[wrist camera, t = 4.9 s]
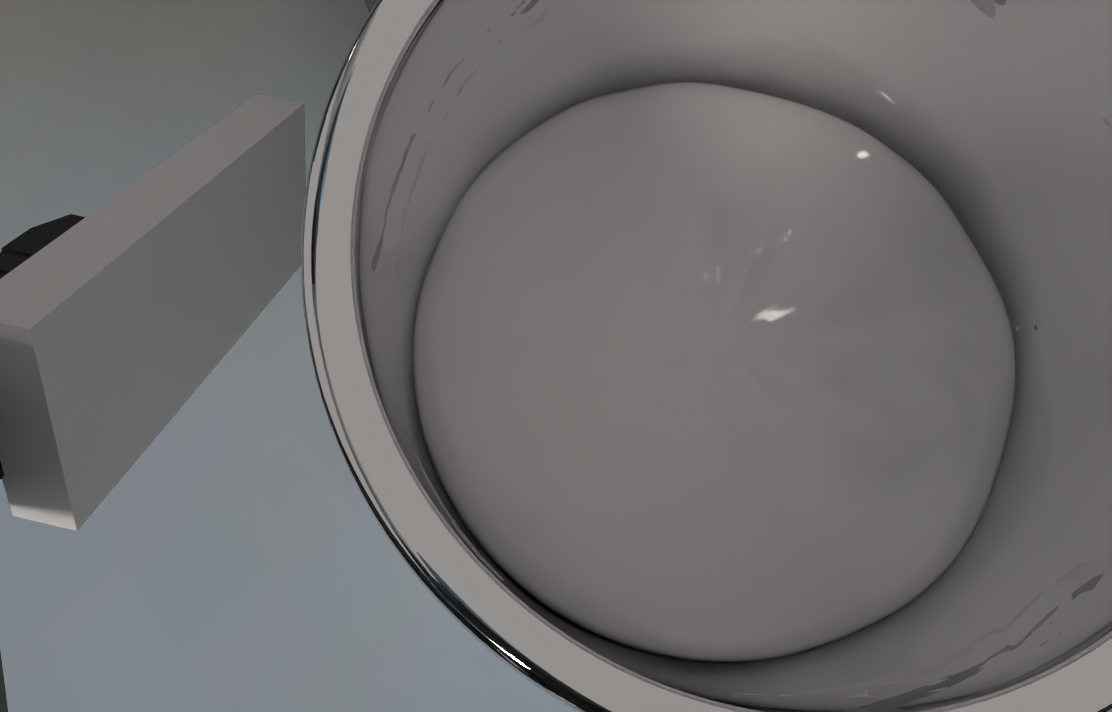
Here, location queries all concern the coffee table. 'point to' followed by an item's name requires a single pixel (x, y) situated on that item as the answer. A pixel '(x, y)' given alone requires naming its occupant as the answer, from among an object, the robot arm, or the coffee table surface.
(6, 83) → the coffee table surface
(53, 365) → the robot arm
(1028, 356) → the beer glass
